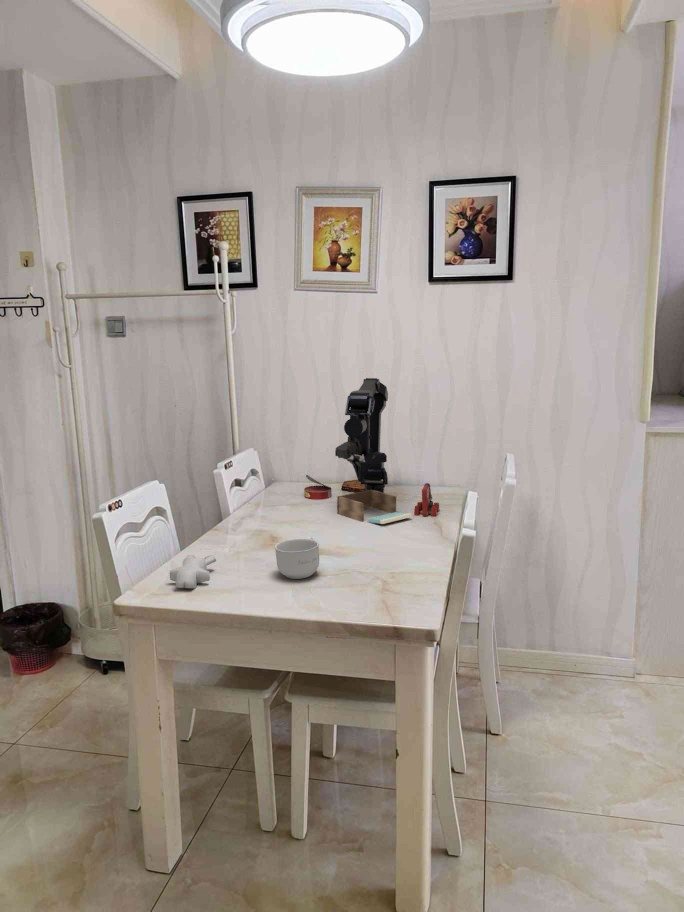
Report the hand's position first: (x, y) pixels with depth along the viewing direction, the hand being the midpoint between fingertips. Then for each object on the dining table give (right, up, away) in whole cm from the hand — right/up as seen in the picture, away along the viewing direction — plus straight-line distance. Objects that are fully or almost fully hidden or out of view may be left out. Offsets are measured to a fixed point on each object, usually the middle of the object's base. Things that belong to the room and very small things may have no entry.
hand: (360, 481), depth 213 cm
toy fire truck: (+21, -12, +4) cm, 25 cm away
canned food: (-15, -7, +31) cm, 35 cm away
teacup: (-16, -21, -46) cm, 53 cm away
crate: (+2, -12, +3) cm, 12 cm away
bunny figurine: (-42, -22, -50) cm, 69 cm away
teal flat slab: (+7, -11, -3) cm, 14 cm away
